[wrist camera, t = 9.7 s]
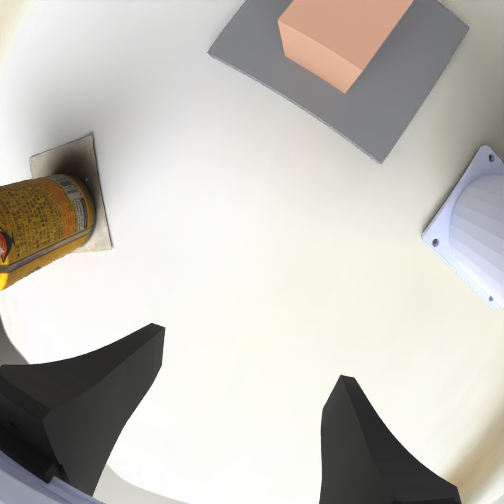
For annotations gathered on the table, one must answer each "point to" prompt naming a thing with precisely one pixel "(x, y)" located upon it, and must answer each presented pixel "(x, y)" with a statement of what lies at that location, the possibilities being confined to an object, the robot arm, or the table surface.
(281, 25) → the block
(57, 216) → the condiment
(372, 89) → the plate
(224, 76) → the table surface
